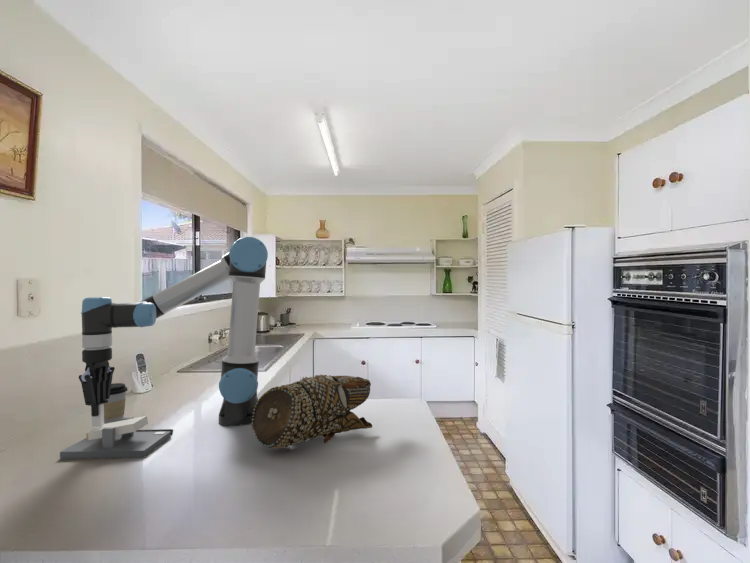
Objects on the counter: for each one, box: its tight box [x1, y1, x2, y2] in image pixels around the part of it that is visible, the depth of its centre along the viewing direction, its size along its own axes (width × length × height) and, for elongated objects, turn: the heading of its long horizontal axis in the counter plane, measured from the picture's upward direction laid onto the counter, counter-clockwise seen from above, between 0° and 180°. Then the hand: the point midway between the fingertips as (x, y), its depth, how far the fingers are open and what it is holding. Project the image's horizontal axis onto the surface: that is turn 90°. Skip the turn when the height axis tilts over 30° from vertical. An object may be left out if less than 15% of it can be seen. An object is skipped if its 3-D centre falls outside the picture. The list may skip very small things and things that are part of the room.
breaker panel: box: [59, 416, 172, 460], centre depth 123 cm, size 24×15×8 cm, turn 90°
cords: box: [135, 428, 174, 436], centre depth 134 cm, size 17×3×1 cm, turn 90°
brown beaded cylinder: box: [251, 374, 373, 449], centre depth 128 cm, size 24×22×35 cm
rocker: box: [85, 415, 149, 440], centre depth 123 cm, size 14×7×2 cm, turn 90°
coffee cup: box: [104, 382, 129, 424], centre depth 139 cm, size 9×9×15 cm
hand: (98, 425), depth 124 cm, fingers closed
